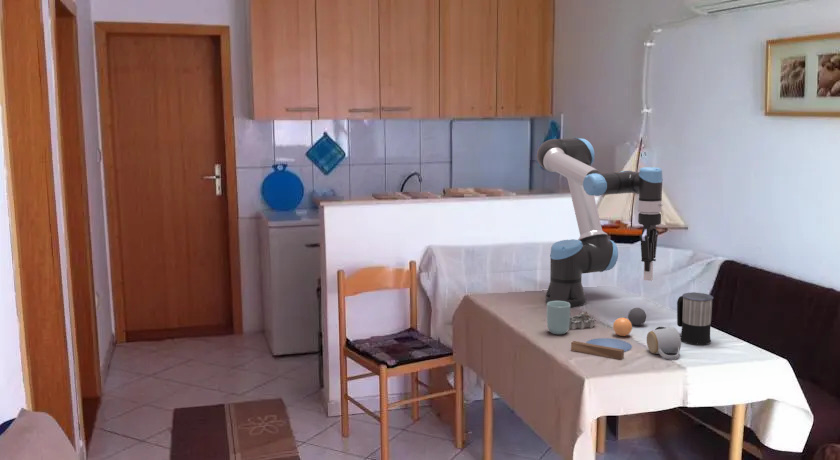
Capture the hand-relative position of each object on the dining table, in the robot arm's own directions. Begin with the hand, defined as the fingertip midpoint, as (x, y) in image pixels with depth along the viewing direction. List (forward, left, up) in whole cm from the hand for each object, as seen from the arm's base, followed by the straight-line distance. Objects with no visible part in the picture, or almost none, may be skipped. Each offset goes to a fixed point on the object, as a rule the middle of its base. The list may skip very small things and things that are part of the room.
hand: (648, 279), depth 267 cm
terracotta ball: (+23, 0, -11) cm, 26 cm away
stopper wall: (+45, 0, -14) cm, 47 cm away
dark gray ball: (+9, 0, -11) cm, 14 cm away
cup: (+31, -19, -14) cm, 39 cm away
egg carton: (+21, -17, -15) cm, 30 cm away
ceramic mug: (+34, +17, -14) cm, 41 cm away
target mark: (+35, 0, -14) cm, 38 cm away
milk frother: (+18, +18, -14) cm, 29 cm away
